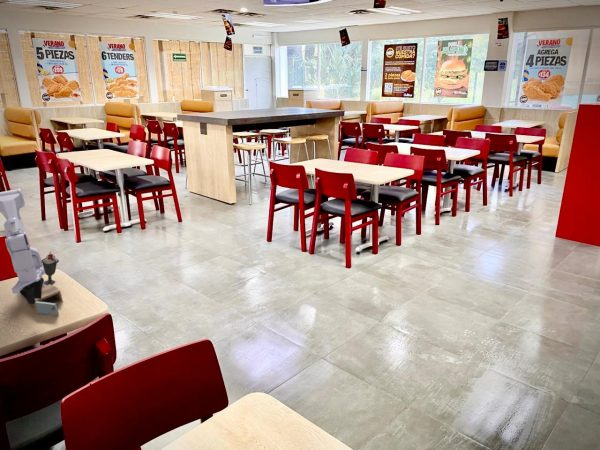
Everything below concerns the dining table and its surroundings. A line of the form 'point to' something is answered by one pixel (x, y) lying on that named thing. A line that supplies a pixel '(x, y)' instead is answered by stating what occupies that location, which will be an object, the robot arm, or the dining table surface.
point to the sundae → (49, 267)
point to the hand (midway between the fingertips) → (35, 300)
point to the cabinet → (49, 295)
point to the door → (47, 308)
